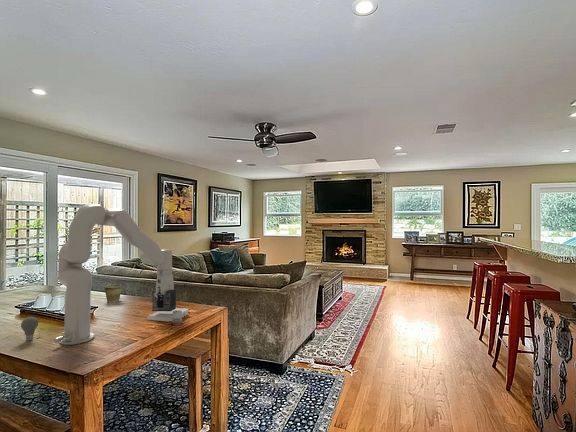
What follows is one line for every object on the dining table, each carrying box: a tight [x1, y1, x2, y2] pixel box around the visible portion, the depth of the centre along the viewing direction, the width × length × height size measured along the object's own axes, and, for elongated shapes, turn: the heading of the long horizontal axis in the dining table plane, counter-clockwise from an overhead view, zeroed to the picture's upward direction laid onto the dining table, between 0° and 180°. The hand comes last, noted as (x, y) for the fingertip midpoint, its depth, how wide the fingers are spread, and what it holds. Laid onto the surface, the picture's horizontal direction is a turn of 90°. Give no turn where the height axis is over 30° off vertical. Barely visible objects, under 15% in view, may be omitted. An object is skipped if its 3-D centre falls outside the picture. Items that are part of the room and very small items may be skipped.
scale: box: [146, 307, 190, 322], centre depth 178 cm, size 18×17×3 cm
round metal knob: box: [172, 311, 183, 326], centre depth 165 cm, size 4×4×6 cm
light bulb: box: [20, 316, 39, 341], centre depth 142 cm, size 6×6×10 cm
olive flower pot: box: [104, 283, 123, 304], centre depth 211 cm, size 13×10×10 cm
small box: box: [151, 289, 177, 312], centre depth 175 cm, size 11×6×10 cm, turn 84°
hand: (164, 305), depth 175 cm, fingers closed on small box, 6 cm apart
